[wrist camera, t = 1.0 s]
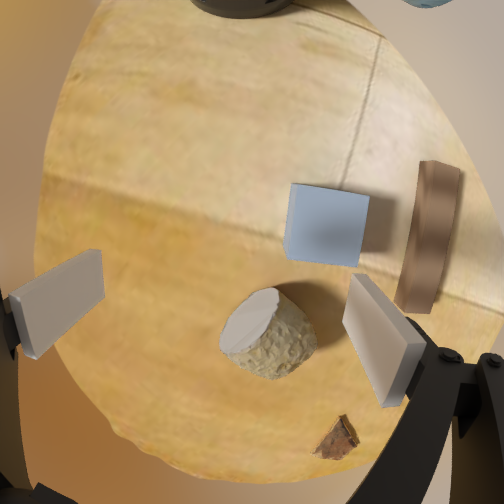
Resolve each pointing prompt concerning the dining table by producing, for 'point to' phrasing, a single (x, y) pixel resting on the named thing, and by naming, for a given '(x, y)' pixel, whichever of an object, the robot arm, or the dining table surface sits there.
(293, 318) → the cut rock
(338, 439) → the shard
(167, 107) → the dining table surface
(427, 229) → the brown wavy bar
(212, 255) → the dining table surface
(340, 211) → the block
